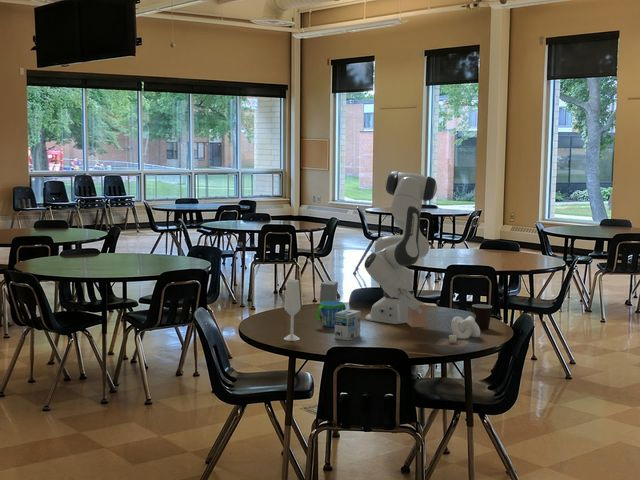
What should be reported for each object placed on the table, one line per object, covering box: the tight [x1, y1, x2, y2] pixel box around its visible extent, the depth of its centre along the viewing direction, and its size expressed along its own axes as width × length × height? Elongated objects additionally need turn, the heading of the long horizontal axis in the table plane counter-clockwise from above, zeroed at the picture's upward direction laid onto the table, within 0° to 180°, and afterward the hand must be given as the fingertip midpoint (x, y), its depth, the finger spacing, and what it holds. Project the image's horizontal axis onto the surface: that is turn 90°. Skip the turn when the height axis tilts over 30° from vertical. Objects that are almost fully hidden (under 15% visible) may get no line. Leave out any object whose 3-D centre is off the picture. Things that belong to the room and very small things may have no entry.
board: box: [435, 338, 471, 349], centre depth 337 cm, size 12×12×1 cm
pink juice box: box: [406, 299, 427, 328], centre depth 337 cm, size 5×6×10 cm
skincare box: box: [319, 280, 339, 318], centre depth 388 cm, size 8×7×16 cm
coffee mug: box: [471, 303, 493, 331], centre depth 370 cm, size 12×9×10 cm
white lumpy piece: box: [450, 315, 481, 340], centre depth 349 cm, size 11×12×9 cm
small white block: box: [448, 334, 458, 344], centre depth 337 cm, size 3×3×3 cm
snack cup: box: [315, 300, 347, 328], centre depth 367 cm, size 16×10×10 cm
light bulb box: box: [334, 308, 362, 341], centre depth 346 cm, size 11×7×11 cm, turn 148°
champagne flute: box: [283, 279, 302, 342], centre depth 341 cm, size 7×7×24 cm
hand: (418, 310), depth 337 cm, fingers closed on pink juice box, 6 cm apart
